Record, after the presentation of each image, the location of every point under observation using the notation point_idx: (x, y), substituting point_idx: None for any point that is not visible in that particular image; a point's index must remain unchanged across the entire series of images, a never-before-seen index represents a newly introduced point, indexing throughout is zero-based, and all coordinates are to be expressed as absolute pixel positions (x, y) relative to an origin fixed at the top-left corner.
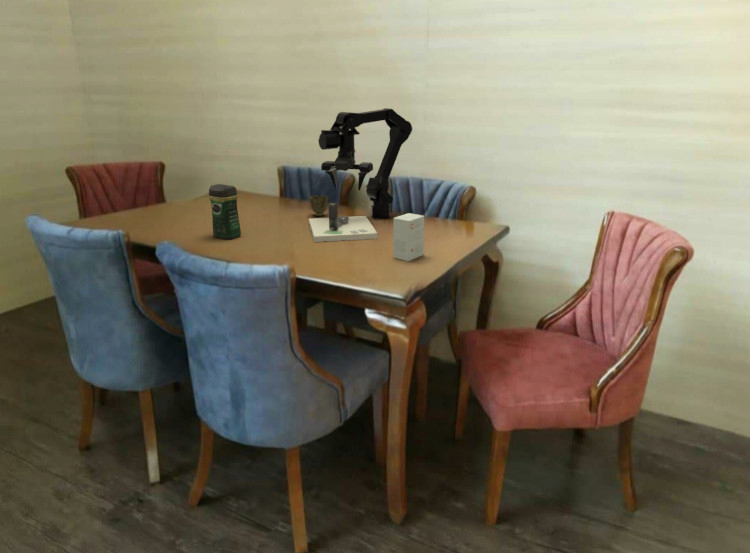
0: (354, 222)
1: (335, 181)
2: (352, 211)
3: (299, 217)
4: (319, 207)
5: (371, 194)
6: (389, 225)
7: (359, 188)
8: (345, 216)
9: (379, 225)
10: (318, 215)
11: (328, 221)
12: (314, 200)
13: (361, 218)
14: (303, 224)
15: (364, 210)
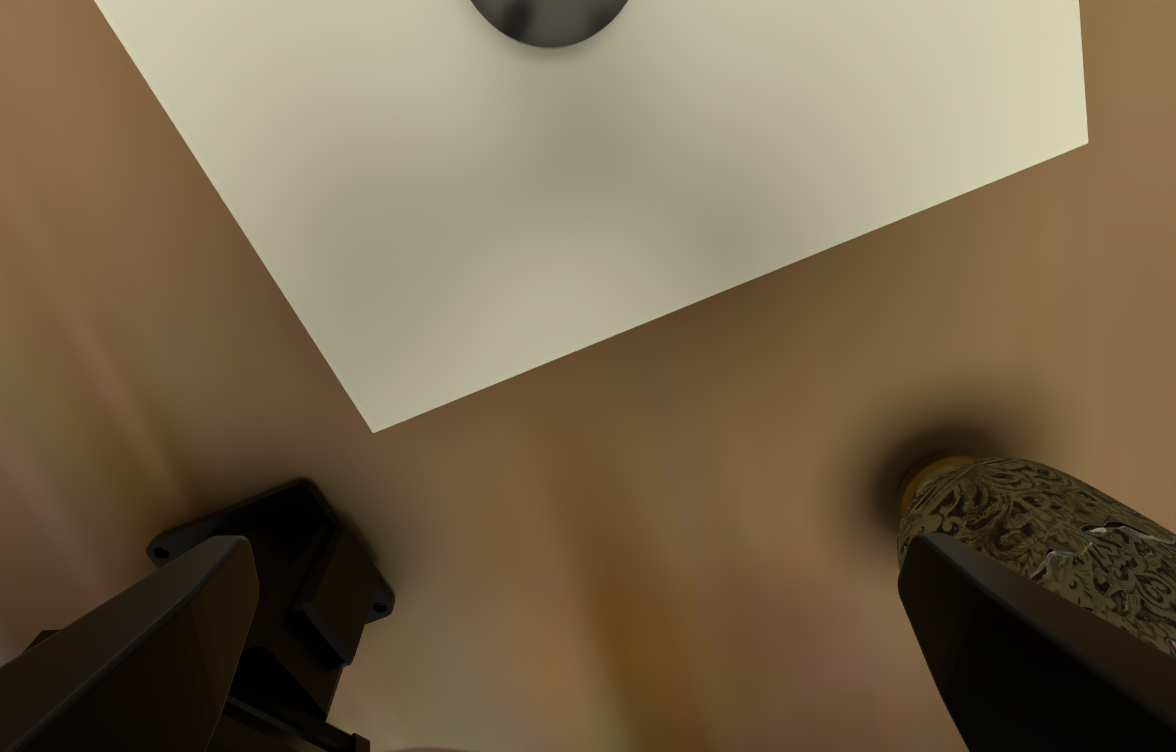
0: (392, 52)
1: (1080, 717)
2: (635, 687)
3: (1149, 390)
4: (1001, 480)
5: (229, 740)
6: (8, 268)
7: (180, 559)
8: (530, 38)
9: (133, 242)
10: (953, 452)
11: (796, 32)
12: (1142, 523)
13: (375, 300)
14: (1109, 91)
15: (532, 735)
